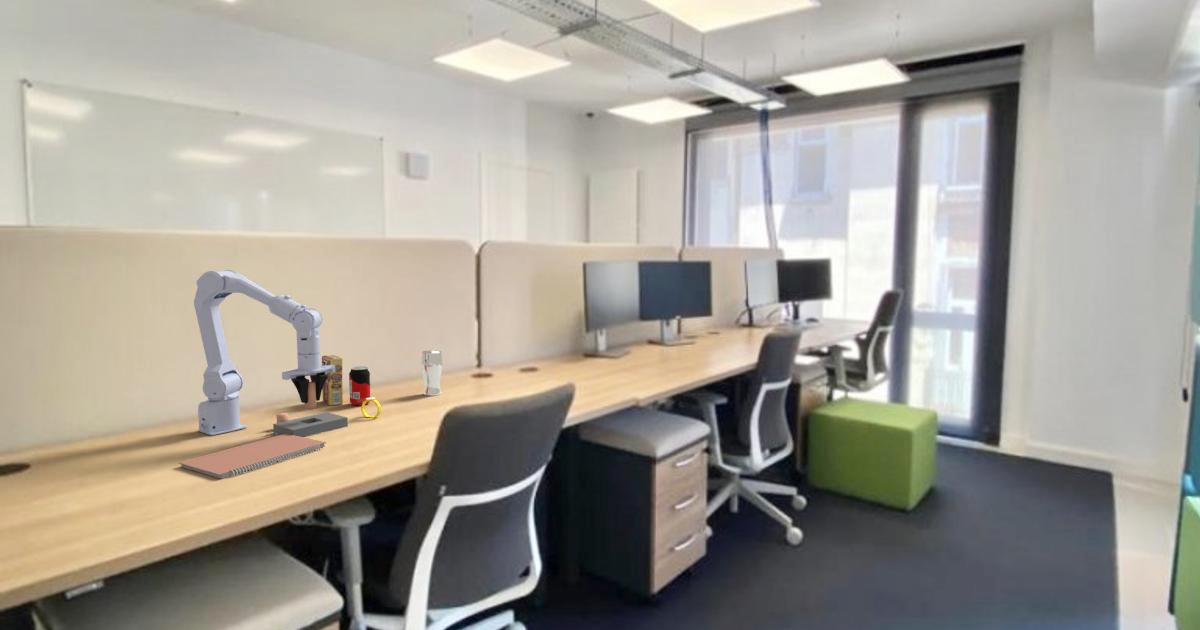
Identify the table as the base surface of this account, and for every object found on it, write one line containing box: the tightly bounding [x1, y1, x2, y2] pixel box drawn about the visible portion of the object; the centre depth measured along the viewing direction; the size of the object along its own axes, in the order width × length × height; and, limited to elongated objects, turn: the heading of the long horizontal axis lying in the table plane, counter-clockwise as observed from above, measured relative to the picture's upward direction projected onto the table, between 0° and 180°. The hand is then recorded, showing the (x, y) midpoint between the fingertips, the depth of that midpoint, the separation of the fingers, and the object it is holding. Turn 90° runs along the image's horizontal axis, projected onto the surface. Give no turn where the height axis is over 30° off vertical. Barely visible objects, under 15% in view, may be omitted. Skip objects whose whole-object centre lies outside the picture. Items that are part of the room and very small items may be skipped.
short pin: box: [276, 412, 290, 423], centre depth 178 cm, size 3×3×4 cm
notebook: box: [178, 434, 327, 480], centre depth 154 cm, size 27×17×2 cm, turn 152°
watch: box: [360, 396, 382, 419], centre depth 191 cm, size 6×3×6 cm, turn 76°
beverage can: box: [348, 366, 371, 406], centre depth 207 cm, size 6×6×12 cm
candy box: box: [321, 354, 344, 406], centre depth 209 cm, size 9×4×15 cm, turn 39°
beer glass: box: [421, 349, 443, 397], centre depth 222 cm, size 7×7×15 cm
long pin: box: [304, 381, 317, 410], centre depth 177 cm, size 3×3×7 cm
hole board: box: [272, 411, 349, 438], centre depth 178 cm, size 16×10×2 cm, turn 145°
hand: (310, 401), depth 177 cm, fingers closed on long pin, 3 cm apart
